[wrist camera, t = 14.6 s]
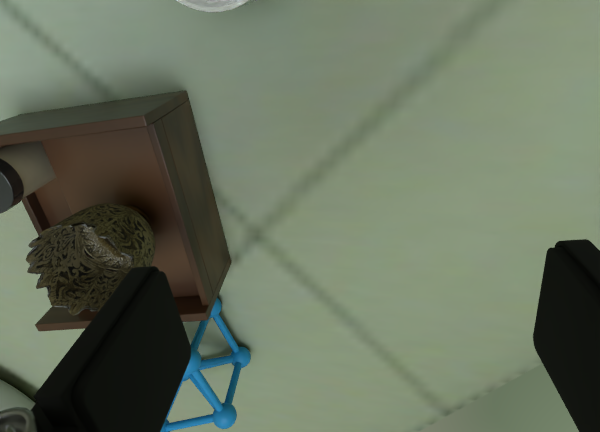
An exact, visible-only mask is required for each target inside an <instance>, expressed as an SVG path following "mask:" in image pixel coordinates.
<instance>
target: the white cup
mask: <svg viewBox="0 0 600 432" xmlns="http://www.w3.org/2000/svg"><path fill="white" fill-rule="evenodd" d="M176 1H178V2H179V3H181V4H183V5H185V6H187V7H190V8H192V9H195V10H199V11H204V12H223V11H228V10H231V9H234V8H237V7H241V6H244V5H248V4H251V3H253V2H255V1H257V0H176Z"/></svg>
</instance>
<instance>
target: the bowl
mask: <svg viewBox="0 0 600 432" xmlns="http://www.w3.org/2000/svg"><path fill="white" fill-rule="evenodd" d="M34 405H35V403H34V402H33V401H32V400H31V399H30V398H28V397H27V396H26V395H24V394H23V393H22V392H20V391H19V390H17V389H16V388H14V387H13V386H11V385H9V384H8V383H6V382H4V381H2V380H0V411H2V410H5V409H9V408H14V407H24V408H27V409H29V410H31V409H32V408H33V406H34Z"/></svg>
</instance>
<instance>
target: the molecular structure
mask: <svg viewBox="0 0 600 432" xmlns="http://www.w3.org/2000/svg"><path fill="white" fill-rule="evenodd" d="M221 307H222V305H221V302H220V300H219V299H218V298H217V299H216V301H215V304H214V306H213V309H212V311H211V314H210V316H209V319H210V318H212V317H213V318H214V320H215V322H216V323H217V325H218V327H219V328H220V330H221V332H222V333H223V335H224V337H225V338H226V340H227V342H228V343H229V345H230V347H231V348H232V350H233V351H232V353H231V355H230V356H224V357H218V358H212V359H206V360H201V356H200V353H199V352H198V351H197V349H198V346H199V344H200V341H201V339H202V336H203V334H204V331H205V329H206V326H207V324H208V321H209V319H208V320H204V321H201V322H200V324H199V326H198V329H197V331H196V333H195V336H194V338H193V341H192V343H191V345H190V346H191V358H190V361H189V364H188V366H187V369H186V371H185V374H184V376H183V378H182V381H181V383H180V386H181V384H182V382H183V381H186V380H188V379H189V378H190V379H191V381H192V382H193V383H194V384H195V386H196V387H197V388H198V389H199V391H200V392H201V393H202V394H203V396H204V397H205V398H206V399H207V401H208V402H209V403H210V404H211V406H212V407H213V408H214V409H215V410H214V412H213V414H211V415H206V416H201V417H196V418H192V419H187V420H182V421H177V422H172V423H169V421H168V420H167V417H168V415H169V412H170V410H171V408H172V405H173V403H174V401H175V398H176V396H177V394H178V391H179V389H180V386H179V388H178V390H177V393H176V395H175V398H174V400H173V402H172V405H171V407H170V410H169V412H168V414H167V417H166V419H165V422H164V424H163V426H162V429H161V431H160V432H170V431H172V430H177V429H182V428H187V427H192V426H197V425H202V424H207V423H211V422H214V424H215V425H216V426H217V427H218V428H221V429H227V428H229V427H231V426H232V425H233V424H234V423H235V420H236V417H237V414H236V410H235V408H234V406H233V405H231V404H232V400H233V397H234V393H235V389H236V385H237V381H238V377H239V374H240V370H241V368H243V367H245V366H247V364H248V363H249V362H250V359H251V355H250V352H249V350H248V349H247V348H245V347H238V345H237V344H236V342H235V340H234V339H233V337H232V335H231V334H230V332H229V330H228V328H227V327H226V325H225V323H224V322H223V320H222V318H221V317H220V315H219V313H220V311H221ZM228 363H232V364H233V365H234V366H235V367H234V371H233V374H232V378H231V381H230V385H229V388H228V392H227V396H226V399H225V403H222V404H221V402H220V401H219V399H218V398H217V396H216V395H215V393H214V391H213V390H212V388H211V387H210V385H209V384H208V382H207V381H206V379H205V378H204V376H203V375H202V373H201V372H200V370H203V369H207V368H211V367H215V366H219V365H224V364H228Z"/></svg>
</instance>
